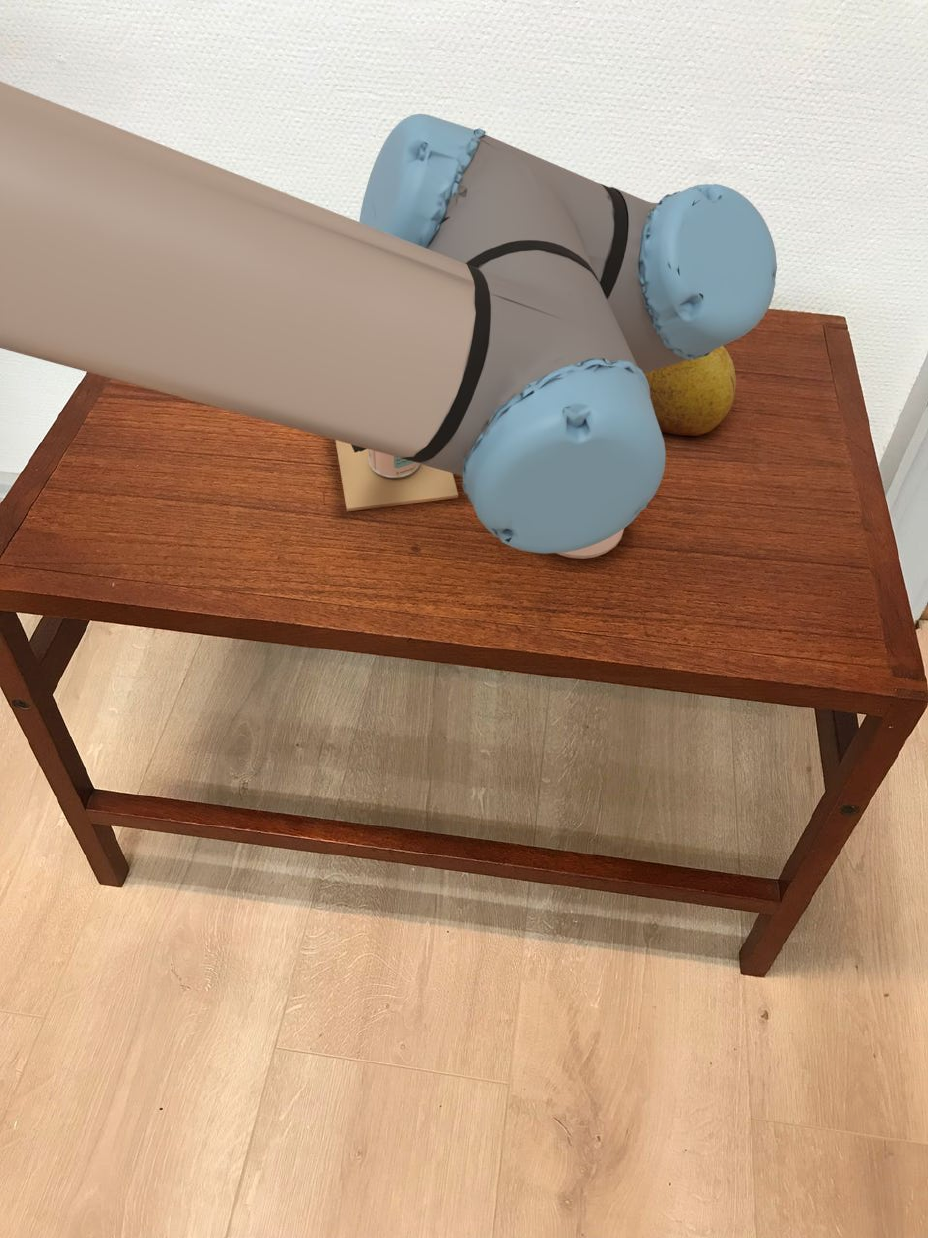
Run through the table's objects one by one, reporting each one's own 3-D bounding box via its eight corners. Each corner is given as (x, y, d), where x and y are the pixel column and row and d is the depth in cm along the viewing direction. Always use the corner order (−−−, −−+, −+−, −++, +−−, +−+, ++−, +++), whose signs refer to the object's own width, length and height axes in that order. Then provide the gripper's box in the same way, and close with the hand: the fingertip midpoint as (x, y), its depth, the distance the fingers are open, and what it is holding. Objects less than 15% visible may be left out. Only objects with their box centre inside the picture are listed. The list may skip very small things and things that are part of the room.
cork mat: (346, 511, 86) (346, 508, 86) (334, 436, 92) (334, 433, 92) (458, 498, 87) (458, 494, 87) (439, 425, 93) (439, 421, 93)
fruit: (739, 442, 93) (773, 335, 83) (648, 455, 91) (672, 347, 82) (705, 385, 98) (734, 278, 88) (619, 396, 97) (639, 289, 87)
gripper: (416, 475, 56) (309, 508, 75) (726, 327, 65) (560, 390, 84) (361, 350, 54) (265, 416, 73) (686, 217, 64) (526, 307, 83)
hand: (423, 402), depth 79 cm, fingers open, 13 cm apart
